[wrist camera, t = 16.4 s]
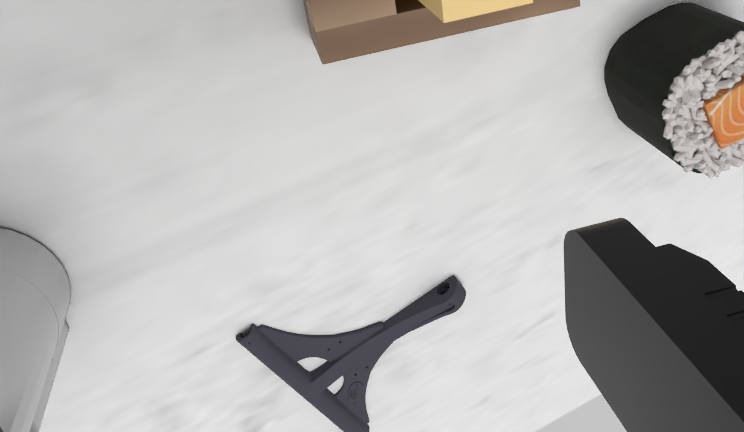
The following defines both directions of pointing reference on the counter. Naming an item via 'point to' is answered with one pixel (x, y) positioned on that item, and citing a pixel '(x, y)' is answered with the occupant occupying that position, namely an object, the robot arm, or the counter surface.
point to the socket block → (397, 24)
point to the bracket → (345, 355)
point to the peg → (468, 7)
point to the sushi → (683, 86)
